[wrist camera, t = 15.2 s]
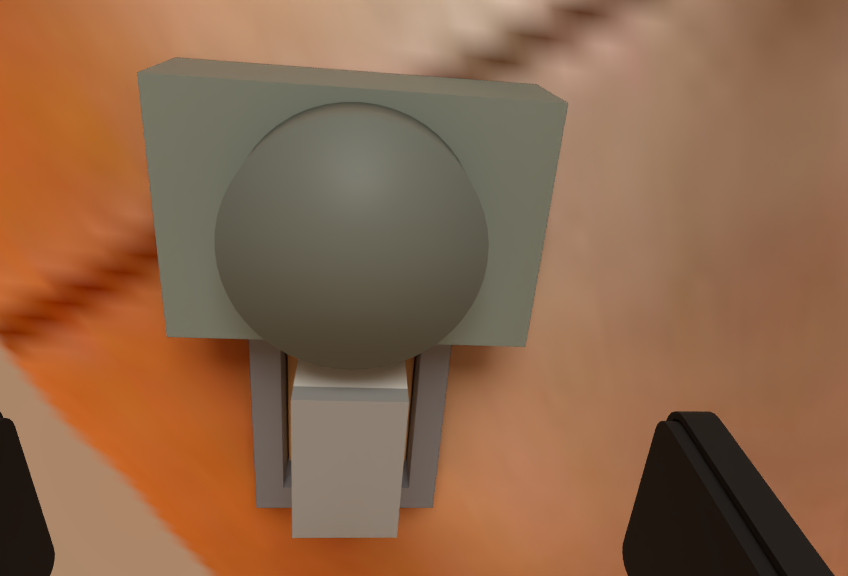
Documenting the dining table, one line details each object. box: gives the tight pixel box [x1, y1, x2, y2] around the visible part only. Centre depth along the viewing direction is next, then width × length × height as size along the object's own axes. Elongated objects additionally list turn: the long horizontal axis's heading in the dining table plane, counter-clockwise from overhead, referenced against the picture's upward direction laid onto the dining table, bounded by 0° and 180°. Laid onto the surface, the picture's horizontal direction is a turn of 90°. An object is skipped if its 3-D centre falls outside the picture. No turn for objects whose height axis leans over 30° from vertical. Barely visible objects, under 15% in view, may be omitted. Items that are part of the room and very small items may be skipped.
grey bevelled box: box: [291, 359, 409, 538], centre depth 31 cm, size 5×8×7 cm, turn 175°
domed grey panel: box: [137, 57, 568, 508], centre depth 29 cm, size 16×24×8 cm
